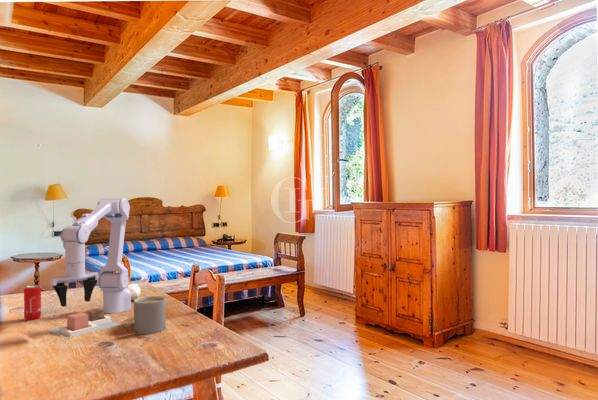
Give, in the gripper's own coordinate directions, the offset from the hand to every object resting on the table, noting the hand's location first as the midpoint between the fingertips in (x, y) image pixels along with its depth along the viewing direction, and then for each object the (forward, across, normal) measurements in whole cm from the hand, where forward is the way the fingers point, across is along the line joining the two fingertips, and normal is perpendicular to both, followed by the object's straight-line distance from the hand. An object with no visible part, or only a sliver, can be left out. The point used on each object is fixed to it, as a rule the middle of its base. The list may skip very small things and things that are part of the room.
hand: (75, 303), depth 137 cm
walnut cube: (+8, -8, -3) cm, 12 cm away
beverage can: (+10, +2, -28) cm, 30 cm away
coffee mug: (+10, -16, +16) cm, 25 cm away
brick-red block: (+8, 0, +1) cm, 9 cm away
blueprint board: (+10, -3, 0) cm, 10 cm away
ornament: (+10, -35, -24) cm, 44 cm away
